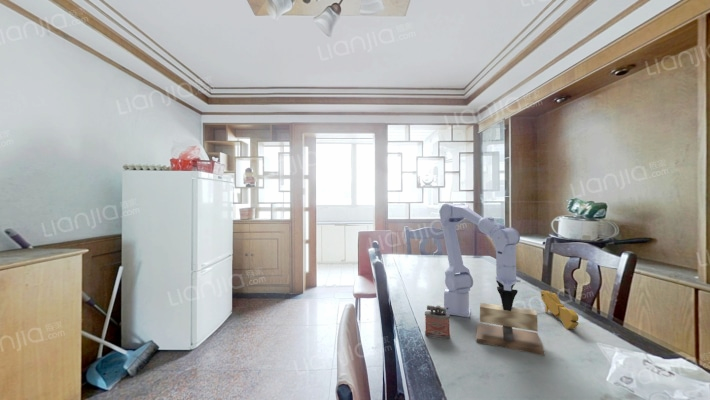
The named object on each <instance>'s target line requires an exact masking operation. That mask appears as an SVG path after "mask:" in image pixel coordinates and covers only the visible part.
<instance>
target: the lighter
mask: <svg viewBox="0 0 710 400" xmlns="http://www.w3.org/2000/svg"><path fill="white" fill-rule="evenodd" d="M424 316H425V317H424V318H425V330H424V335H425V337H428V338H433V339H439V340H450V339H451V334H450V319H451V314H447V313H446V308H444V306H443V307H441V305H436V306H435V305H427V306H426V311H425V312H424Z"/></svg>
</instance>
